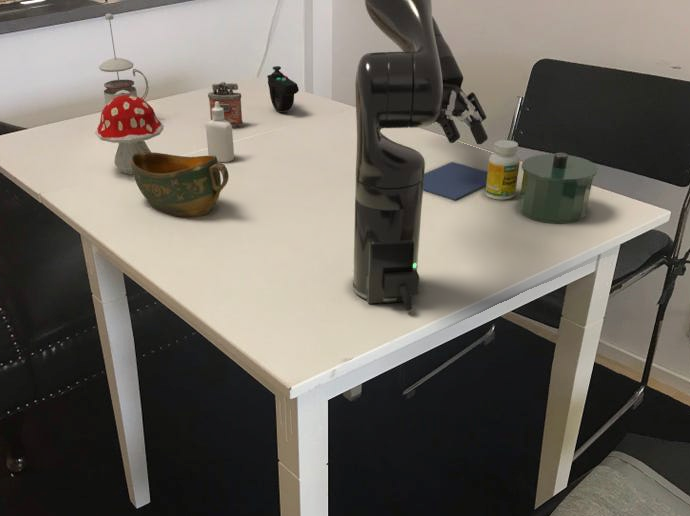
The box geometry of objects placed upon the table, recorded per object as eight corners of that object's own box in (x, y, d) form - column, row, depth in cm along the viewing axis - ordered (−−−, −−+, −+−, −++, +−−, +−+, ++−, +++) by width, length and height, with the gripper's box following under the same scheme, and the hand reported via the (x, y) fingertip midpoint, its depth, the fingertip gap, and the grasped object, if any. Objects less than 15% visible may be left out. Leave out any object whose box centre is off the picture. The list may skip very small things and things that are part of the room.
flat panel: (502, 178, 148) (502, 176, 148) (455, 200, 140) (455, 198, 140) (451, 163, 156) (451, 161, 155) (404, 184, 148) (404, 182, 147)
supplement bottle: (499, 187, 144) (505, 136, 139) (521, 195, 141) (529, 144, 135) (478, 194, 142) (484, 142, 137) (500, 202, 138) (507, 150, 133)
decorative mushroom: (123, 186, 153) (111, 110, 144) (89, 169, 162) (77, 96, 153) (181, 168, 160) (173, 95, 151) (146, 153, 169) (136, 82, 160)
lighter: (208, 127, 182) (204, 84, 177) (213, 123, 185) (209, 80, 179) (240, 129, 180) (237, 85, 174) (245, 124, 183) (242, 81, 177)
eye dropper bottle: (224, 153, 166) (220, 97, 160) (236, 161, 162) (232, 103, 155) (206, 157, 165) (201, 100, 158) (217, 165, 161) (213, 107, 154)
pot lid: (608, 183, 126) (612, 165, 124) (534, 187, 126) (537, 169, 124) (580, 158, 136) (583, 141, 134) (511, 162, 136) (514, 144, 134)
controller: (282, 104, 196) (280, 63, 190) (301, 117, 186) (300, 74, 180) (266, 106, 194) (264, 65, 189) (285, 119, 185) (283, 76, 179)
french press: (102, 121, 190) (84, 12, 176) (148, 115, 192) (134, 7, 178) (107, 132, 182) (89, 19, 168) (155, 126, 185) (141, 14, 171)
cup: (169, 234, 133) (162, 178, 127) (131, 197, 148) (123, 145, 142) (236, 218, 138) (232, 163, 132) (193, 183, 152) (188, 132, 147)
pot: (595, 221, 130) (604, 179, 126) (530, 225, 130) (536, 182, 126) (571, 196, 139) (579, 156, 135) (510, 199, 139) (516, 159, 135)
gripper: (425, 50, 138) (461, 127, 135) (472, 58, 147) (507, 130, 144) (397, 77, 144) (431, 152, 141) (444, 83, 153) (477, 153, 150)
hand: (469, 141), depth 142 cm, fingers open, 8 cm apart
